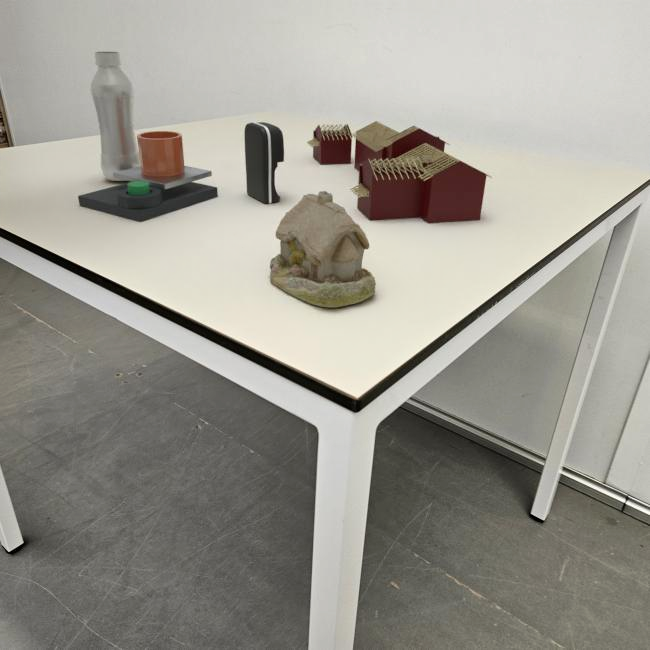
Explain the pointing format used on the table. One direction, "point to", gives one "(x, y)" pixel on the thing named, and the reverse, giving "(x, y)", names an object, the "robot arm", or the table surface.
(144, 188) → the tare button
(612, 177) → the table surface
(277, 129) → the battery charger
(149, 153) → the ramekin
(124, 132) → the plastic bottle
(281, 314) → the table surface
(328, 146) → the toy houses
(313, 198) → the ceramic model
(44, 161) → the table surface
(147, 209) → the scale
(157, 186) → the scale pan
